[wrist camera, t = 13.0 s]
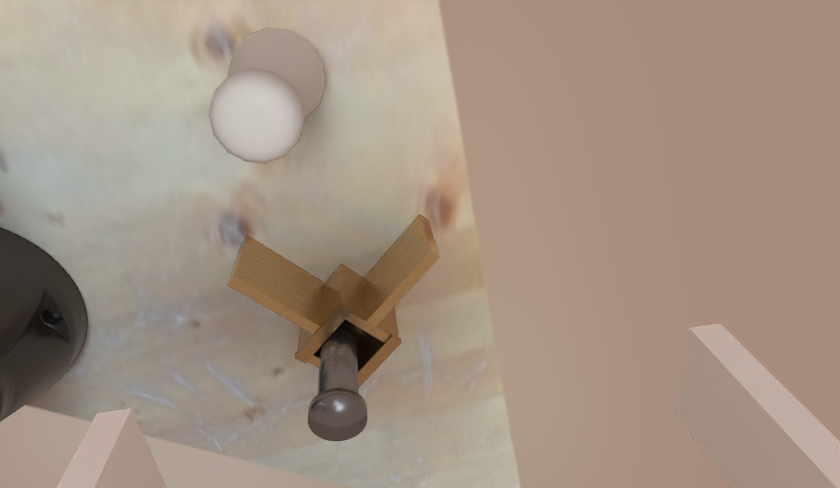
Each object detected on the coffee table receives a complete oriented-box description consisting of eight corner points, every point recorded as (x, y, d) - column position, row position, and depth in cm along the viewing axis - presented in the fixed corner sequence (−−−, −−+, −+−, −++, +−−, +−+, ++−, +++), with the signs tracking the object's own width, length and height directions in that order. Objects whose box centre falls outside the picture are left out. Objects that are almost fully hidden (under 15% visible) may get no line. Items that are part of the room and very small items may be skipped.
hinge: (225, 264, 43) (207, 310, 37) (320, 141, 39) (316, 171, 34) (354, 340, 47) (355, 390, 42) (449, 236, 44) (464, 276, 38)
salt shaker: (220, 84, 37) (164, 143, 25) (260, 4, 35) (219, 30, 23) (301, 129, 39) (282, 204, 27) (342, 57, 37) (341, 104, 25)
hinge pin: (321, 325, 46) (313, 444, 35) (313, 288, 45) (303, 401, 33) (364, 319, 47) (370, 436, 35) (359, 282, 45) (363, 393, 34)
